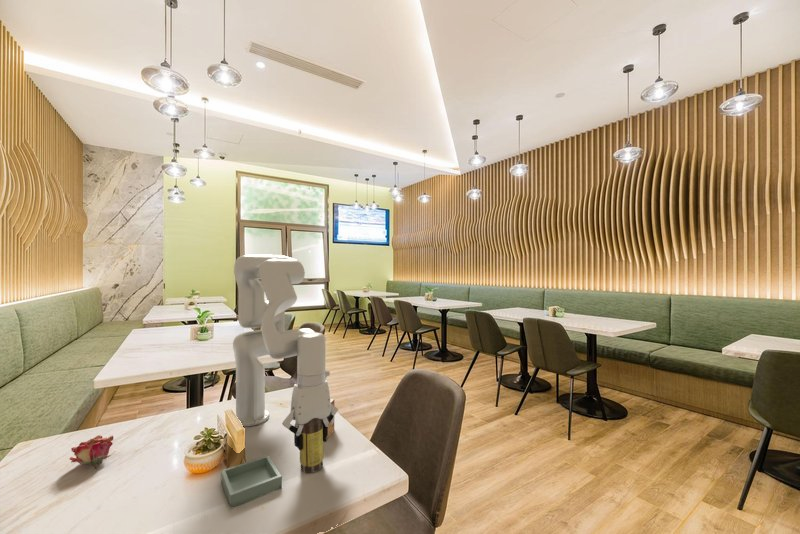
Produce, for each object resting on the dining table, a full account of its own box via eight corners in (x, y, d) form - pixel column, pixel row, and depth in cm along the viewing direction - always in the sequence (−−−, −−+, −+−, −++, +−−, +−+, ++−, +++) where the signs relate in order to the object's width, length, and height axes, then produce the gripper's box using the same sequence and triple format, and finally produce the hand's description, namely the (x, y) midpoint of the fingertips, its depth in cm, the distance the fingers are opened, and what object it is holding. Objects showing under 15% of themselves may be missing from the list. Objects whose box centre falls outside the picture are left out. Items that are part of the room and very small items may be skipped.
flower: (123, 456, 94) (120, 428, 97) (82, 467, 86) (80, 436, 89) (103, 470, 96) (100, 443, 99) (61, 482, 88) (60, 451, 91)
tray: (221, 482, 85) (221, 470, 85) (268, 466, 92) (268, 455, 92) (230, 508, 76) (230, 495, 76) (281, 488, 83) (281, 476, 83)
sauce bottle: (326, 462, 94) (327, 391, 94) (317, 475, 88) (317, 400, 88) (305, 459, 95) (306, 390, 95) (294, 472, 89) (295, 398, 89)
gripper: (334, 369, 100) (334, 429, 100) (275, 381, 89) (275, 448, 89) (346, 375, 94) (346, 439, 94) (284, 389, 83) (284, 461, 83)
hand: (311, 443), depth 92 cm, fingers closed on sauce bottle, 6 cm apart
